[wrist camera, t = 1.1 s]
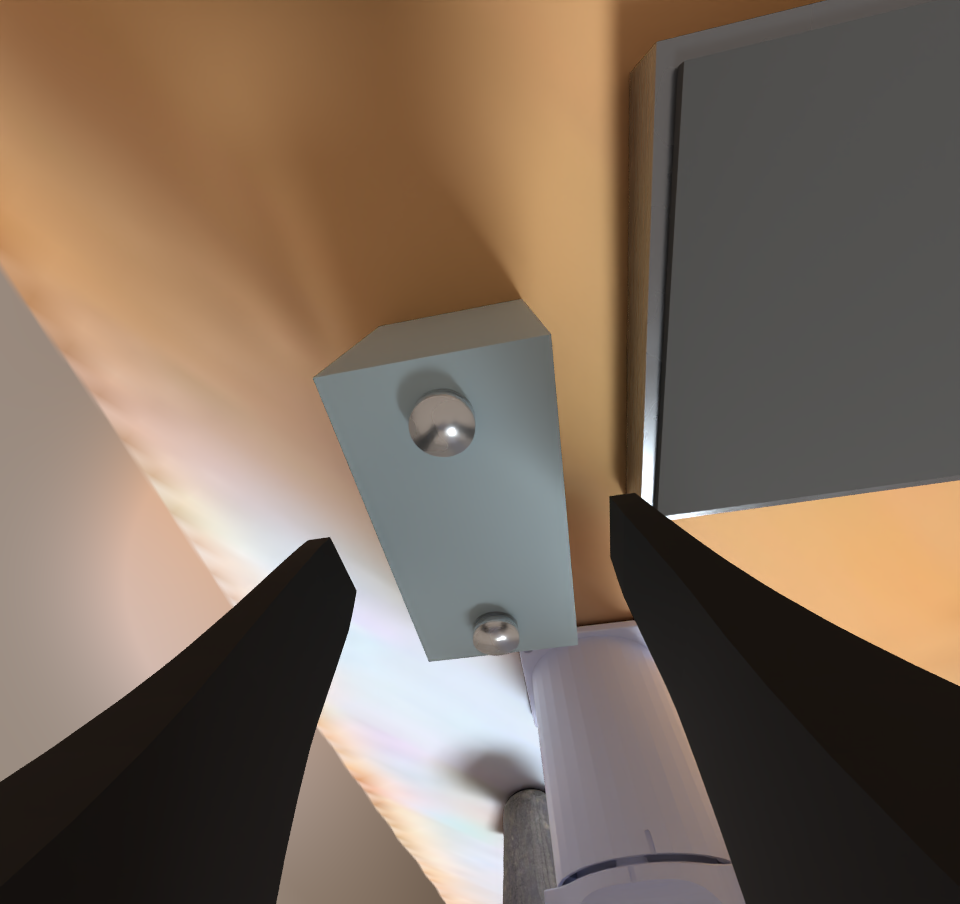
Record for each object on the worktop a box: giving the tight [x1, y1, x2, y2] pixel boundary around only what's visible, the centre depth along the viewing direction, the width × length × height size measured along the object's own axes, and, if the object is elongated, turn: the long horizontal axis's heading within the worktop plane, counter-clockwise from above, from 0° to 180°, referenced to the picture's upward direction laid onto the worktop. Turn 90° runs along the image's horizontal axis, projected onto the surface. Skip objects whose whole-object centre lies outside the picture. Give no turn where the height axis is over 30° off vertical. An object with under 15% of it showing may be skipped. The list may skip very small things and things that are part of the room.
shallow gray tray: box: [626, 0, 960, 520], centre depth 12 cm, size 14×15×2 cm
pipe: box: [503, 789, 557, 904], centre depth 29 cm, size 6×13×8 cm, turn 179°
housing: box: [313, 299, 578, 662], centre depth 12 cm, size 10×5×6 cm, turn 10°
